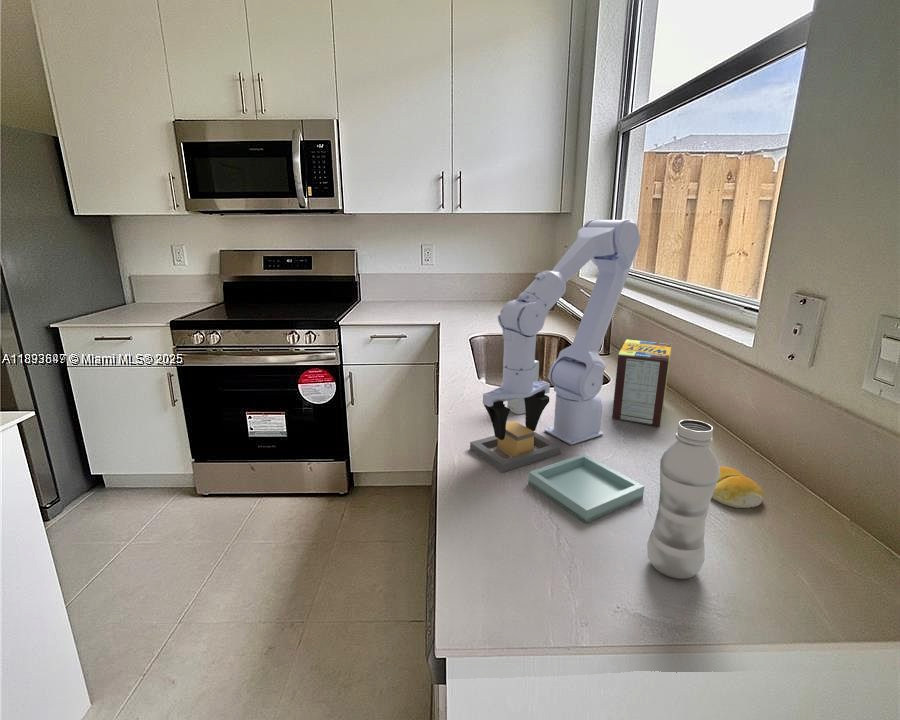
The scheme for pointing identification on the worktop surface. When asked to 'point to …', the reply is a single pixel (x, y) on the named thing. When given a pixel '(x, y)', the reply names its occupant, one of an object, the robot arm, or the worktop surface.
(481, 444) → the grey rectangular frame
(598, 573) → the worktop surface
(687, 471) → the plastic bottle
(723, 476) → the bread roll
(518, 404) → the skincare box
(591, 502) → the parts tray
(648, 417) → the protein box
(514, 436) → the tan box
